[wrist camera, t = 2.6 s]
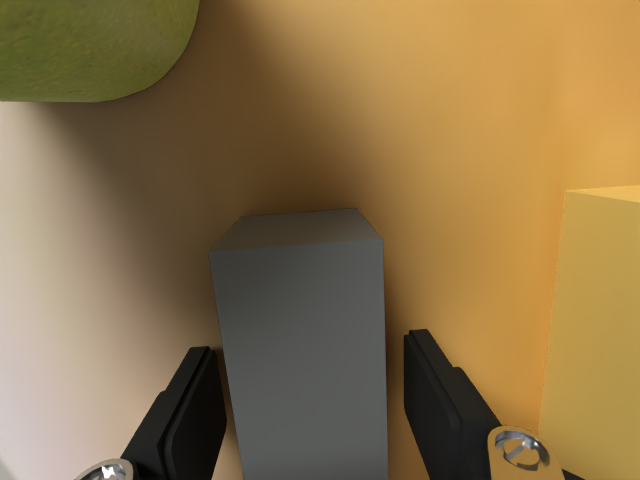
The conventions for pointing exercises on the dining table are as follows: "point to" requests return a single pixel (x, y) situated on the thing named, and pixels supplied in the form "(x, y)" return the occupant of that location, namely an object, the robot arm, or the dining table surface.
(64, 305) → the dining table surface
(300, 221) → the dark gray block
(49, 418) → the dining table surface
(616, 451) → the butter stick
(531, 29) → the dining table surface
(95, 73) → the plant pot
